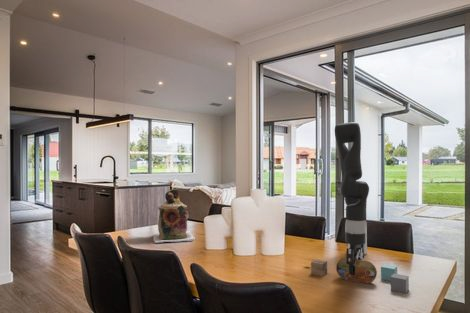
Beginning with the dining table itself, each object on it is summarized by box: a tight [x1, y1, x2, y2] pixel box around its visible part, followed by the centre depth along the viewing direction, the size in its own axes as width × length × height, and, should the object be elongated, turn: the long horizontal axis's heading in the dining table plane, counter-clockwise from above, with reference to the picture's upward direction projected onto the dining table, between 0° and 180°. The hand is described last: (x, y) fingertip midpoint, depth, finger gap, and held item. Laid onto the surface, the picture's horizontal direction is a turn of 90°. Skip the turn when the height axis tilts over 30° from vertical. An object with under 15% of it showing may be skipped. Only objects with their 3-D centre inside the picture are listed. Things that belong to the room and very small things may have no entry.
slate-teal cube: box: [380, 263, 398, 282], centre depth 132 cm, size 5×5×5 cm
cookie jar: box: [152, 187, 196, 244], centre depth 208 cm, size 25×25×32 cm
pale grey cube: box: [390, 273, 410, 295], centre depth 120 cm, size 5×5×5 cm
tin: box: [335, 257, 378, 284], centre depth 130 cm, size 15×3×8 cm, turn 57°
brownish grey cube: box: [310, 259, 328, 277], centre depth 139 cm, size 5×5×5 cm
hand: (355, 272), depth 130 cm, fingers open, 8 cm apart
